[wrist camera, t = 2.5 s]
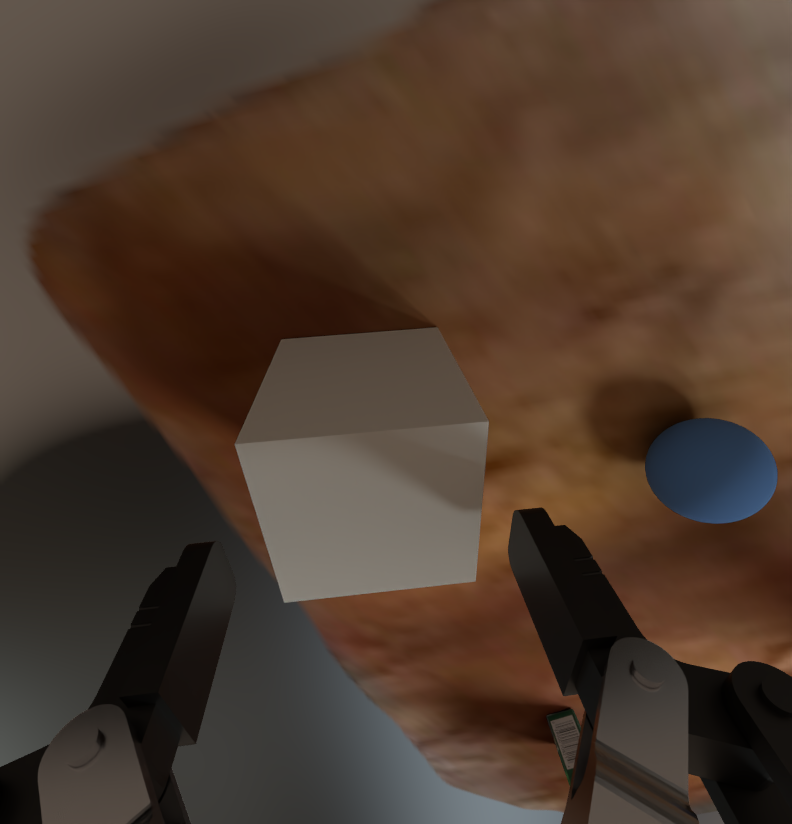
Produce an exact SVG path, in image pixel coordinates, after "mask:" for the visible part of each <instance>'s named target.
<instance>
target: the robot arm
mask: <svg viewBox="0 0 792 824" xmlns="http://www.w3.org/2000/svg"><path fill="white" fill-rule="evenodd" d="M508 554H509V560H510V565H511V568H512V571H513V573H514V576H515V578H516V581H517V583H518V586H519V588H520V591H521V593H522V595H523V598H524V600H525V603H526V605H527V608H528V610H529V613H530V615H531V618H532V620H533V623H534V625H535V628H536V630H537V632H538V635H539V637H540V640H541V642H542V645H543V647H544V650H545V652H546V655H547V657H548V660H549V662H550V665H551V667H552V669H553V672H554V674H555V677H556V679H557V682H558V684H559V687H560V689H561V692H562V694H563V696H568V695H576V694H578V695H579V697H580V699H581V702H582V704H583V706H584V708H585V711H584V714H583V720H582V725H581V730H580V735H579V741H578V746H577V751H576V757H575V762H574V767H573V773H572V778H571V783H570V789H569V794H568V799H567V803H566V808H565V811H564V815H563V818H562V822H561V824H699V821H698V818H697V816H696V814H695V813H694V812H693V811H692V810H691V808H690V805H689V798H688V774H691V775H695V776H699V777H700V778H701V780H702V782H703V784H704V786H705V788H706V789H707V791H708V793H709V795H710V797H711V799H712V801H713V803H714V805H715V806H716V808H717V810H718V812H719V814H720V816H721V818H722V820H723V822H724V823H725V824H792V677H791V676H789V675H788V674H786V673H785V672H783V671H781V670H779V669H777V668H775V667H773V666H770V665H768V664H764V663H761V662H755V661H747V662H742V663H740V664H738V665H737V666H736V667H735V668H734V669H733V671H732V672H731V673H728V672H723V671H718V670H714V669H709V668H704V667H699V666H695V665H690V664H686V663H683V662H680V661H677V660H675V659H673V658H672V657H671V656H670V655H669V654H668V653H667V652H666V651H665V650H663V649H662V648H661V647H659V646H658V645H656V644H654V643H652V642H650V641H648V640H647V639H646V638H645V637H644V636H643V635H642V633H641V632H640V631H639V629H638V628H637V626H636V625H635V623H634V621H633V620H632V618H631V617H630V615H629V613H628V612H627V610H626V609H625V607H624V605H623V604H622V602H621V601H620V599H619V598H618V596H617V594H616V593H615V591H614V590H613V588H612V586H611V585H610V583H609V582H608V580H607V578H606V577H605V575H603V574H602V570H601V569H600V567H599V566H598V564H597V563H596V561H595V560H593V556H592V555H591V553H590V551H589V550H588V548H587V547H586V545H585V543H584V542H583V540H582V539H581V538H580V537H579V536H577V535H576V534H575V533H574V532H573V531H572V530H570V529H569V528H568V527H567V526H566V525H560V526H554V524H553V522H552V521H551V519H550V517H549V515H548V514H547V512H546V511H545V510H544V509H543V508H532V509H523V510H515V511H514V513H513V518H512V525H511V532H510V538H509V545H508ZM235 595H236V582H235V577H234V574H233V571H232V569H231V567H230V564H229V561H228V559H227V556H226V554H225V551H224V549H223V546H222V544H221V543H220V542H219V541H214V542H204V543H195V544H189V545H187V546H186V547H185V549H184V551H183V553H182V555H181V557H180V559H179V562H178V564H177V566H176V567H168V568H165V570H164V571H163V572H162V573H161V574H160V575H159V576H158V577H157V578H156V579H155V581H154V582H153V583H152V584H151V585H150V586H149V588H148V590H147V592H146V594H145V597H144V598H143V600H142V602H141V604H140V607H139V611H137V613H136V615H135V617H134V619H133V621H132V623H131V628H130V629H128V631H127V633H126V635H125V637H124V640H123V642H122V644H121V646H120V648H119V650H118V652H117V654H116V656H115V658H114V660H113V662H112V664H111V666H110V668H109V671H108V673H107V675H106V677H105V679H104V681H103V683H102V685H101V687H100V689H99V691H98V693H97V695H96V697H95V699H94V701H93V703H92V704H91V705H90V707H89V708H88V710H86V711H84V712H82V713H81V714H79V715H78V716H76V717H75V718H74V719H73V720H71V721H70V722H69V723H68V724H66V725H65V726H64V727H63V728H62V730H60V732H59V733H58V734H57V735H56V736H55V738H54V739H53V740H52V741H51V743H50V744H49V745H47V746H45V747H43V748H41V749H39V750H37V751H35V752H32V753H30V754H28V755H26V756H24V757H21V758H19V759H17V760H15V761H13V762H10V763H8V764H6V765H4V766H2V767H0V824H191V822H190V819H189V816H188V813H187V810H186V807H185V804H184V801H183V799H182V795H181V793H180V790H179V787H178V784H177V781H176V778H175V775H174V772H173V770H172V768H171V767H172V763H173V761H174V757H175V754H176V750H177V747H178V746H185V745H192V744H196V741H197V738H198V734H199V730H200V726H201V723H202V719H203V715H204V712H205V708H206V704H207V700H208V697H209V693H210V690H211V686H212V682H213V679H214V675H215V671H216V667H217V664H218V660H219V656H220V653H221V649H222V645H223V642H224V638H225V634H226V630H227V627H228V623H229V619H230V615H231V612H232V608H233V604H234V600H235Z"/></svg>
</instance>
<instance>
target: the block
mask: <svg viewBox="0 0 792 824" xmlns="http://www.w3.org/2000/svg"><path fill="white" fill-rule="evenodd" d="M488 426H489V421H488V419H487V417H486V415H485V413H484V411H483V410H482V408H481V406H480V404H479V402H478V400H477V399H476V397H475V395H474V393H473V391H472V389H471V388H470V386H469V384H468V382H467V380H466V379H465V377H464V375H463V373H462V371H461V369H460V368H459V366H458V364H457V362H456V360H455V358H454V357H453V355H452V353H451V351H450V349H449V347H448V346H447V344H446V342H445V340H444V338H443V336H442V335H441V333H440V331H439V329H438V327H434V328H422V329H409V330H396V331H383V332H370V333H357V334H344V335H331V336H318V337H305V338H292V339H281V341H280V343H279V346H278V348H277V350H276V352H275V355H274V357H273V359H272V361H271V364H270V366H269V368H268V370H267V373H266V375H265V377H264V379H263V382H262V384H261V386H260V388H259V391H258V393H257V395H256V397H255V400H254V402H253V404H252V406H251V409H250V411H249V413H248V415H247V418H246V420H245V422H244V424H243V427H242V429H241V431H240V433H239V436H238V438H237V440H236V442H235V447H236V450H237V454H238V457H239V460H240V463H241V466H242V469H243V473H244V476H245V479H246V482H247V485H248V489H249V492H250V495H251V498H252V501H253V504H254V508H255V511H256V514H257V517H258V520H259V524H260V527H261V530H262V533H263V536H264V539H265V543H266V546H267V549H268V552H269V555H270V559H271V562H272V565H273V568H274V571H275V575H276V578H277V581H278V584H279V587H280V590H281V594H282V596H283V600H284V602H285V603H286V602H295V601H304V600H313V599H322V598H331V597H340V596H349V595H358V594H367V593H376V592H385V591H394V590H403V589H412V588H421V587H430V586H439V585H448V584H457V583H466V582H475V581H476V570H477V558H478V546H479V534H480V522H481V510H482V498H483V486H484V474H485V462H486V450H487V438H488Z"/></svg>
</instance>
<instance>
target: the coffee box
mask: <svg viewBox="0 0 792 824" xmlns="http://www.w3.org/2000/svg"><path fill="white" fill-rule="evenodd" d="M546 718H547V721H548V724H549V727H550V730H551V733H552V736H553V739H554V742H555V745H556V748H557V751H558V754H559V756H560V759H561V762H562V765H563V768H564V771H565V773H566V776H567V779H568V782H569V785H570V783H571V778H572V773H573V767H574V762H575V757H576V751H577V746H578V741H579V735H580V730H581V727H580V724H579V722H578V720H577V717H576V715H575V713H574V711H573V709H569V710H566V711H561V712H557V713H553V714H549V715H547V716H546Z"/></svg>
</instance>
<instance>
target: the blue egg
mask: <svg viewBox="0 0 792 824" xmlns="http://www.w3.org/2000/svg"><path fill="white" fill-rule="evenodd" d="M645 471H646V477H647V480H648V483H649V485H650V487H651V489H652V491H653V492H654V494H655V495H656V496H657V497H658V499H659V500H660V501H661V502H662V503H663V504H664V505H666V506H667V507H668V508H670V509H671V510H672V511H674V512H676V513H678V514H680V515H682V516H684V517H686V518H689V519H692V520H695V521H699V522H704V523H715V524H718V523H730V522H735V521H739V520H742V519H745V518H747V517H749V516H751V515H753V514H755V513H756V512H758V511H759V510H761V509H762V508H763V507H764V506H765V505H766V504H767V503H768V501H769V500H770V498H771V497H772V495H773V493H774V491H775V488H776V485H777V467H776V463H775V460H774V457H773V455H772V453H771V451H770V450H769V449H768V447H767V446H766V445H765V443H764V442H763V441H762V440H761V439H760V438H759V437H757V436H756V435H755V434H753V433H752V432H751V431H749V430H747V429H746V428H744V427H742V426H740V425H737V424H735V423H732V422H728V421H724V420H720V419H711V418H699V419H691V420H687V421H683V422H680V423H677V424H675V425H673V426H671V427H669V428H668V429H666V430H665V431H663V432H662V433H661V434H660V435H659V436H658V437H657V438H656V439H655V440H654V441H653V443H652V444H651V446H650V448H649V450H648V453H647V456H646V462H645Z"/></svg>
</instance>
